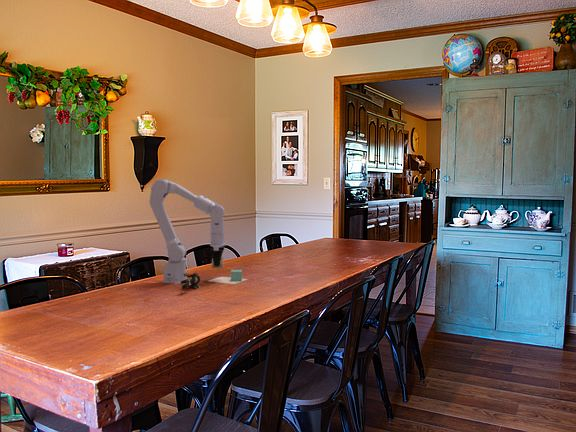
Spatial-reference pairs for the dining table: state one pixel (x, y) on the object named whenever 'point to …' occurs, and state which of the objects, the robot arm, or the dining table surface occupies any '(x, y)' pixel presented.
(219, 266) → the maple block
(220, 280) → the plate
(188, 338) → the dining table surface
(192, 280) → the toy
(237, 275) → the teal block
